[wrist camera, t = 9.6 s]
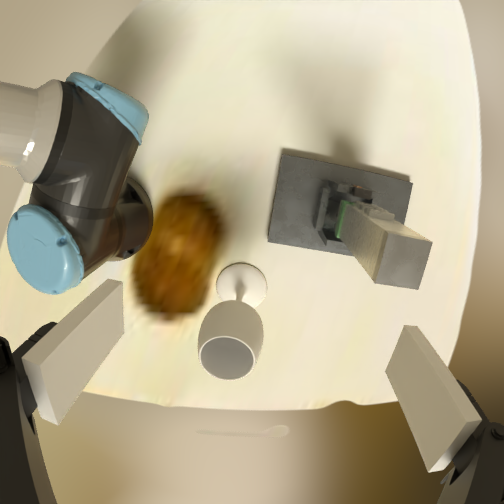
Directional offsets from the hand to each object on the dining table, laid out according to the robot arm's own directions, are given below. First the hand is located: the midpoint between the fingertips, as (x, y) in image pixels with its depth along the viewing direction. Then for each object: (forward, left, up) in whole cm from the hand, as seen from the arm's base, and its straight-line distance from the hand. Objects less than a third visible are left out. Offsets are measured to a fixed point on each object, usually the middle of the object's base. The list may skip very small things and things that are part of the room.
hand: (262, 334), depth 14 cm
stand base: (+12, +1, -39) cm, 41 cm away
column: (+12, +1, -31) cm, 34 cm away
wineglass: (-2, -15, -39) cm, 42 cm away
